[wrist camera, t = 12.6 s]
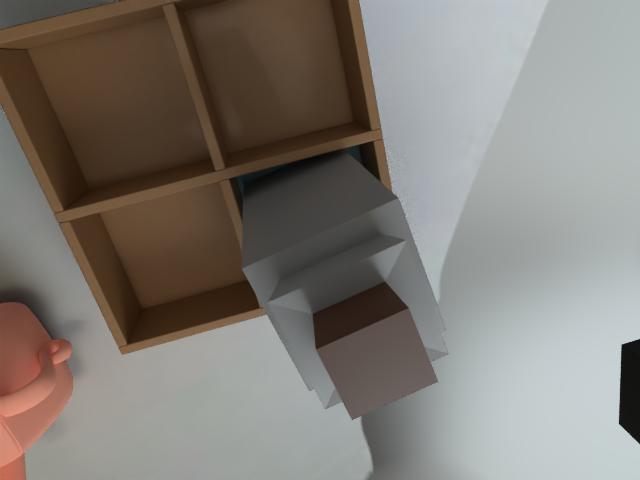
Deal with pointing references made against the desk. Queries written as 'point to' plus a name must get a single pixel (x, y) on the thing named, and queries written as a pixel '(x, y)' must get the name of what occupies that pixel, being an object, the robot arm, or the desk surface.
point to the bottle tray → (181, 139)
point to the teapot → (28, 384)
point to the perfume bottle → (341, 281)
